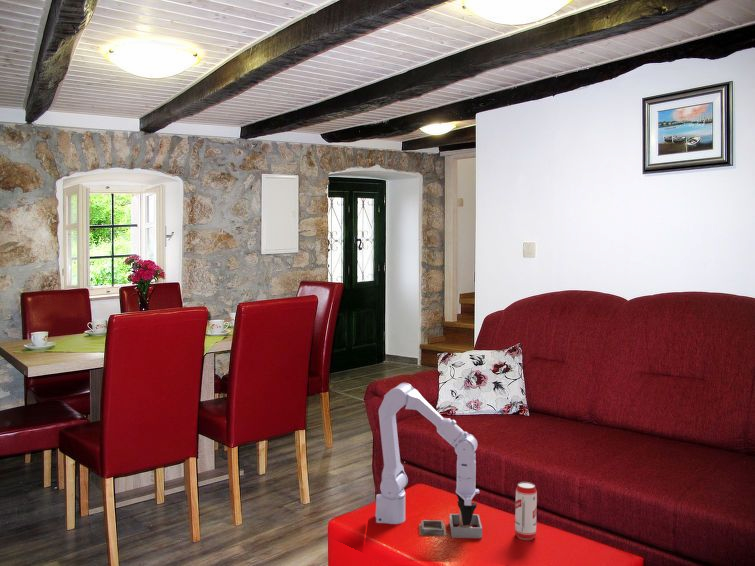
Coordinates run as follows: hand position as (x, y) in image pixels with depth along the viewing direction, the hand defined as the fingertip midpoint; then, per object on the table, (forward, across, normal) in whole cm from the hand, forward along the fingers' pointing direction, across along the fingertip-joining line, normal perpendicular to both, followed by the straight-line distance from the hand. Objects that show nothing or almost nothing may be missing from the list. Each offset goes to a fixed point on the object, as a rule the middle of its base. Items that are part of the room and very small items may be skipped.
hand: (465, 519), depth 204 cm
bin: (+4, 0, 0) cm, 4 cm away
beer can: (+5, -1, -18) cm, 19 cm away
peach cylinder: (+4, 0, 0) cm, 4 cm away
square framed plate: (+4, 0, +10) cm, 11 cm away
